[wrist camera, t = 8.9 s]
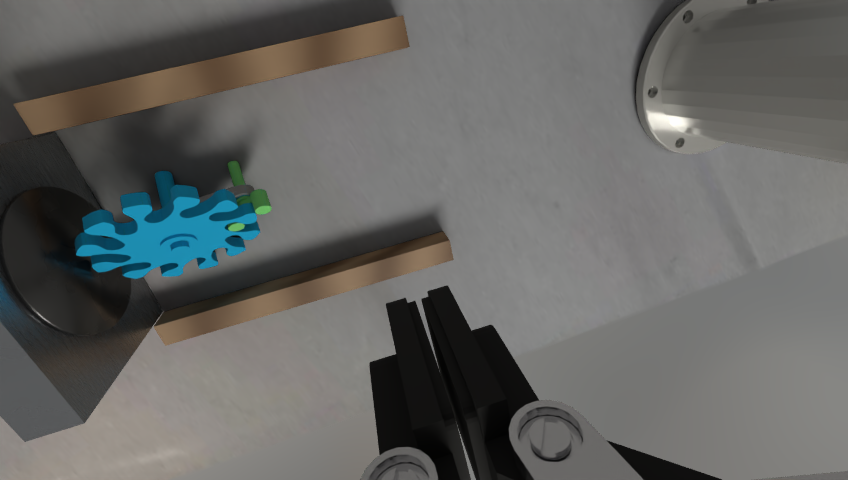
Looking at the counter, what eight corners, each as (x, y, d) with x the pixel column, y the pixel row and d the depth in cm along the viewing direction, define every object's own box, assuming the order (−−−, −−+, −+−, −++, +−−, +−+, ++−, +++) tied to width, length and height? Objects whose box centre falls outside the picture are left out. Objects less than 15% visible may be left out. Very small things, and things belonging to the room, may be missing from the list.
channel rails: (398, 19, 27) (403, 15, 25) (447, 249, 34) (453, 259, 32) (36, 101, 24) (13, 104, 23) (174, 330, 32) (165, 345, 30)
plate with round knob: (60, 131, 25) (-116, 170, 15) (167, 309, 31) (90, 421, 21) (-48, 156, 25) (-304, 214, 15) (82, 334, 30) (-37, 460, 21)
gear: (141, 299, 29) (24, 249, 20) (128, 229, 31) (16, 154, 21) (292, 246, 31) (252, 179, 22) (271, 184, 33) (226, 99, 24)
